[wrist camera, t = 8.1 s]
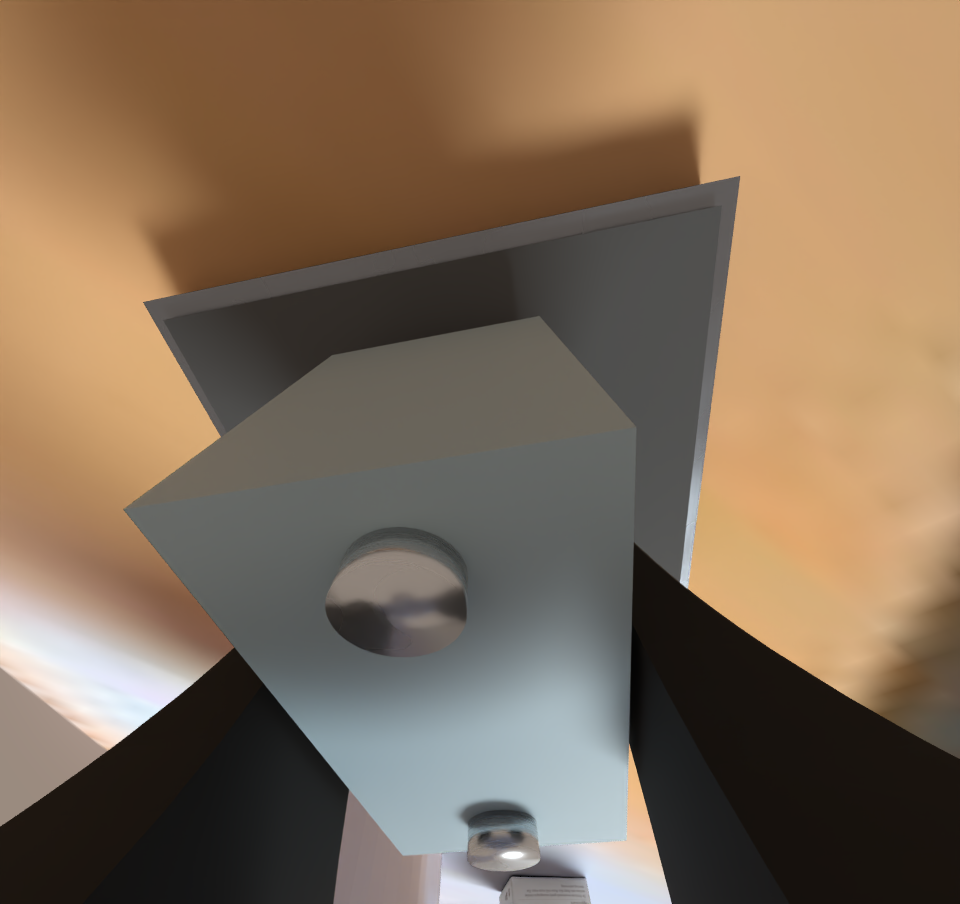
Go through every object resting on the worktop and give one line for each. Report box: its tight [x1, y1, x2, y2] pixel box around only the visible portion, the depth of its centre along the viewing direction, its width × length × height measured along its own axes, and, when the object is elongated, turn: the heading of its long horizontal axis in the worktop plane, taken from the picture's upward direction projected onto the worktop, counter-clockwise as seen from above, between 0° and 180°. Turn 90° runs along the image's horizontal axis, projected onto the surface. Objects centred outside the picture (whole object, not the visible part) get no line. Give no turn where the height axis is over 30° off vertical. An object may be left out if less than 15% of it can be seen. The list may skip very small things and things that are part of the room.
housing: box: [123, 316, 636, 871], centre depth 8 cm, size 10×5×6 cm, turn 10°
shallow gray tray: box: [143, 176, 740, 589], centre depth 13 cm, size 14×15×2 cm
